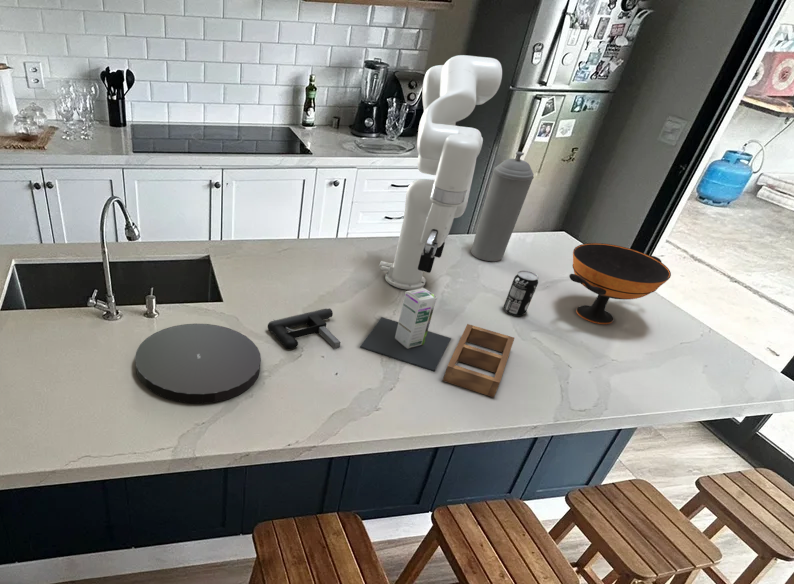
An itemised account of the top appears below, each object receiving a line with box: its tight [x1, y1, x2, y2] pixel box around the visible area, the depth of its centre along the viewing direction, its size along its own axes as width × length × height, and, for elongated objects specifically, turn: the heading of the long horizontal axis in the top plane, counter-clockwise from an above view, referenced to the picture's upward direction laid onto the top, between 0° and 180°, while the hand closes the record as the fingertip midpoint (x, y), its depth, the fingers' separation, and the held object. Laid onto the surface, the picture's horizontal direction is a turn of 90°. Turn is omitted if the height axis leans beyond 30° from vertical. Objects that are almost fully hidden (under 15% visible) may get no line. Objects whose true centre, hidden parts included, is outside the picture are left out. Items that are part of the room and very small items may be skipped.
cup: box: [569, 242, 672, 325], centre depth 168 cm, size 36×26×18 cm
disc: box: [134, 323, 262, 404], centre depth 138 cm, size 30×30×3 cm
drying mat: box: [359, 316, 452, 372], centre depth 154 cm, size 20×18×1 cm
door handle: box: [267, 307, 341, 350], centre depth 153 cm, size 3×20×16 cm
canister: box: [470, 151, 535, 262], centre depth 192 cm, size 13×13×35 cm
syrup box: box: [395, 287, 438, 349], centre depth 149 cm, size 6×6×14 cm
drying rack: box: [442, 323, 515, 398], centre depth 146 cm, size 12×24×4 cm, turn 152°
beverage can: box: [503, 270, 539, 317], centre depth 168 cm, size 7×7×12 cm
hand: (429, 263), depth 141 cm, fingers open, 9 cm apart
